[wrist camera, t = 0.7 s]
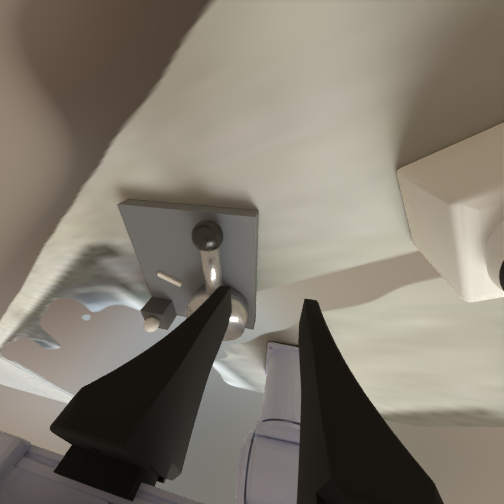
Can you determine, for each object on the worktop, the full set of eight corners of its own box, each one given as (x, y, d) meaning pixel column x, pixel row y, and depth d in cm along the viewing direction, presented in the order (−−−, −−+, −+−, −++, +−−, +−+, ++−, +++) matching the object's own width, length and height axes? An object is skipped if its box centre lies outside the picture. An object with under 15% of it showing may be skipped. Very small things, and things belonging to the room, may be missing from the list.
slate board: (255, 320, 28) (252, 331, 26) (163, 303, 30) (156, 313, 29) (258, 210, 19) (254, 218, 17) (127, 199, 21) (114, 205, 20)
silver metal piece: (249, 327, 26) (244, 348, 24) (199, 318, 27) (189, 337, 25) (249, 218, 18) (241, 234, 15) (176, 211, 19) (158, 225, 16)
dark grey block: (176, 315, 28) (161, 339, 25) (157, 311, 29) (139, 335, 26) (172, 300, 27) (154, 324, 24) (152, 296, 27) (132, 320, 24)
